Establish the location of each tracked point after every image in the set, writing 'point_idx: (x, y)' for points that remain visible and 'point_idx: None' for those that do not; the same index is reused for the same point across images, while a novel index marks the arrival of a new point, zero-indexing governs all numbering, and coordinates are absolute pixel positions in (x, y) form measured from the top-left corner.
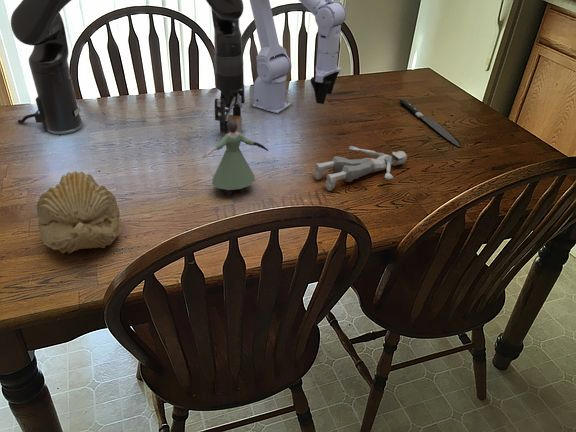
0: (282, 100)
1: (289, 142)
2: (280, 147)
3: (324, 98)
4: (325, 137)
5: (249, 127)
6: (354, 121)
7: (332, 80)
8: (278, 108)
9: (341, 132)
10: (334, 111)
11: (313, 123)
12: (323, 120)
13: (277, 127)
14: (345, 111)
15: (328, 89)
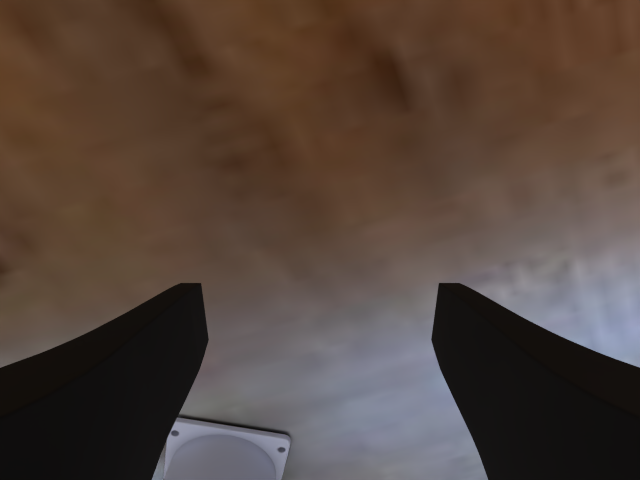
0: (228, 474)
1: (562, 309)
2: (619, 329)
3: (501, 308)
4: (463, 161)
5: (458, 476)
6: (170, 41)
7: (123, 380)
8: (257, 449)
9: (367, 86)
10: (105, 205)
11: (315, 268)
12: (255, 230)
13: (423, 394)
14: (61, 141)
15: (187, 331)
